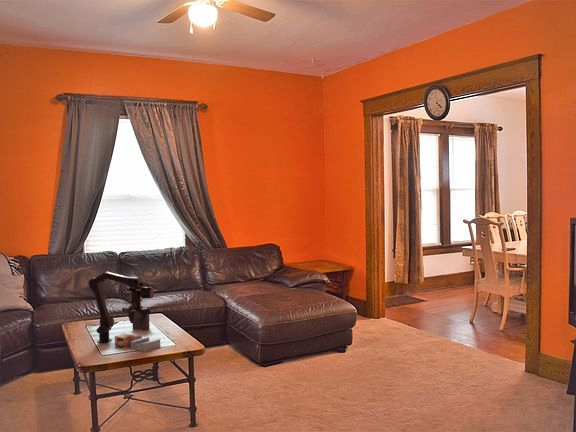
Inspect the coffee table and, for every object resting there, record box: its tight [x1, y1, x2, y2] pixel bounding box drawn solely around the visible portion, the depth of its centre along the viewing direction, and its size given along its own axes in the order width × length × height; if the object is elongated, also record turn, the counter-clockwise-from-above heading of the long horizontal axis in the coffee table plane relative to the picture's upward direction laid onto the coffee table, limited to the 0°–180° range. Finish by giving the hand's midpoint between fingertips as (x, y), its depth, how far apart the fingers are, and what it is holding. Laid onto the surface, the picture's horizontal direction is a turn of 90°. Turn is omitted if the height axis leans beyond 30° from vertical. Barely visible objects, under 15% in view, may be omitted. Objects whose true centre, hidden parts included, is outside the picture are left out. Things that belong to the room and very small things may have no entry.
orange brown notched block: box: [114, 333, 136, 349], centre depth 315 cm, size 7×9×6 cm
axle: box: [116, 334, 143, 349], centre depth 318 cm, size 16×4×4 cm, turn 147°
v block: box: [130, 336, 161, 352], centre depth 310 cm, size 12×11×4 cm
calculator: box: [132, 306, 151, 332], centre depth 353 cm, size 11×4×15 cm, turn 74°
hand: (136, 324), depth 322 cm, fingers open, 8 cm apart
